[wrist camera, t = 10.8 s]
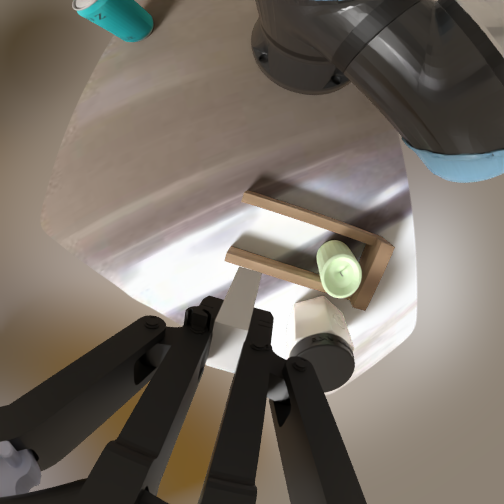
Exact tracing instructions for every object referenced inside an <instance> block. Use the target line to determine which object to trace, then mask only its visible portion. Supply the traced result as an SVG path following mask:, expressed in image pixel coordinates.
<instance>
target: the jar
mask: <svg viewBox="0 0 504 504" xmlns="http://www.w3.org/2000/svg"><path fill="white" fill-rule="evenodd" d="M353 350H354V346H353V343H352V340H351V337H350V333H349V330H348V327H347V324H346V321H345V318H344V315H343V313H342V312H341V311H340V310H339V309H338V308H337V307H336V306H335V305H333V304H332V303H331V302H330V301H329V300H328V299H327V298H326V297H325V296H320V297H316V298H313V299H309V300H305V301H302V302H298V303H295V304H294V306H293V309H292V313H291V316H290V319H289V323H288V326H287V353H286V360H287V359H288V358H290V357H292V356H298V357H303V358H305V359H307V360H308V361H309V362H311V363H312V365H313V367H314V369H315V372H316V374H317V377H318V379H319V382H320V384H321V387H322V389H323V392H329V391H332V390H335V389H337V388H339V387H340V386H342V385H343V384H345V383H346V382H347V381H348V380H349V378H350V377H351V376H352V374H353V371H354V367H355V362H354V356H353Z"/></svg>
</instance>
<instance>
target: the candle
mask: <svg viewBox="0 0 504 504" xmlns="http://www.w3.org/2000/svg"><path fill="white" fill-rule="evenodd" d="M317 264H318V269H319V273H320V278H321V282H322V286H323V288H324V290H325V291H326V292H327V293H328V294H329V295H330V296H332V297H334V298H346V297H348V296H350V295H352V294H353V293H354V292H355V291H356V290H357V289H358V287H359V285H360V283H361V278H362V270H361V267H360V264H359V263H358V261H357V260H356V258H355V256H354V255H353V253H352V252H351V250H350V249H349V247H348V246H347V245H346V244H345V243H343V242H341V241H338V240H331V241H328V242H326V243H324V244H323V245H322V246H321V247H320V248H319V250H318V252H317Z"/></svg>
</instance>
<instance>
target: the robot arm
mask: <svg viewBox="0 0 504 504" xmlns="http://www.w3.org/2000/svg"><path fill="white" fill-rule="evenodd" d="M255 1H256V5H257V9H258V13H259V18H258V20H257V22H256V24H255V26H254V28H253V31H252V37H251V46H252V51H253V54H254V57H255V60H256V62H257V64H258V66H259V68H260V69H261V71H262V72H263V73H264V74H265V75H266V76H267V77H268V78H269V79H270V80H271V81H273V82H274V83H276V84H277V85H279V86H281V87H283V88H285V89H287V90H290V91H293V92H296V93H300V94H307V95H321V94H328V93H332V92H335V91H337V90H339V89H341V88H343V87H345V86H346V85H348V84H349V83H350V82H352V83H353V84H354V85H355V86H356V87H357V88H358V89H359V90H360V91H361V92H362V93H363V94H364V95H365V96H366V97H367V98H368V99H369V100H370V101H371V102H372V103H373V104H374V105H375V106H376V107H377V108H378V109H379V111H380V112H381V113H382V114H383V115H384V116H385V117H386V118H387V119H388V121H389V122H390V123H391V124H392V125H393V126H394V128H395V129H396V130H397V131H398V132H399V134H400V135H401V136H402V140H403V141H404V143H405V144H406V145H407V146H408V147H409V148H410V149H412V150H413V151H414V152H415V153H416V154H417V155H418V156H419V158H420V159H421V160H422V161H423V163H424V164H425V165H426V167H427V168H428V169H429V170H430V171H431V172H432V173H434V174H435V175H438V176H440V177H441V178H443V179H445V180H448V181H453V182H463V183H464V182H465V183H466V182H477V181H482V180H486V179H490V178H493V177H496V176H498V175H500V174H503V173H504V0H438V1H434V0H255ZM261 275H262V273H260V272H257V271H253V270H249V269H246V268H242V267H239V268H238V271H237V273H236V275H235V277H234V280H233V282H232V284H231V286H230V288H229V291H228V293H227V295H226V297H225V299H224V300H222V299H219V298H216V297H212V296H208V297H206V298H204V299H203V300H202V302H201V303H200V305H199V306H193V307H189V308H188V309H187V310H186V312H185V319H184V325H183V327H178V328H177V327H166V323H165V322H164V321H163V320H162V319H161V318H159V317H156V316H144V317H142V318H140V319H138V320H137V321H135V322H134V323H132V324H131V325H129V326H128V327H126V328H124V329H123V330H122V331H120V332H118V333H117V334H115V335H114V336H112V337H111V338H109V339H108V340H106V341H105V342H103V343H102V344H100V345H98V346H97V347H95V348H94V349H92V350H91V351H89V352H88V353H86V354H85V355H83V356H82V357H80V358H79V359H78V360H76V361H74V362H73V363H71V364H70V365H68V366H67V367H65V368H64V369H62V370H61V371H59V372H58V373H56V374H55V375H53V376H52V377H50V378H49V379H47V380H46V381H44V382H43V383H41V384H40V385H38V386H37V387H35V388H34V389H32V390H31V391H29V392H28V393H26V394H25V395H23V396H22V397H20V398H19V399H17V400H16V401H14V402H13V403H11V404H10V405H7V406H2V407H0V504H168V503H166V502H164V501H163V500H161V499H160V498H158V497H156V495H157V492H158V488H159V484H160V481H161V478H162V476H163V473H164V471H165V468H166V465H167V463H168V460H169V458H170V455H171V453H172V450H173V448H174V445H175V443H176V440H177V437H178V435H179V432H180V430H181V427H182V425H183V422H184V420H185V417H186V415H187V412H188V410H189V407H190V405H191V402H192V399H193V397H194V394H195V392H196V389H197V387H198V384H199V382H200V379H201V377H202V374H203V371H204V366H205V363H206V365H208V366H211V367H214V368H218V369H221V370H225V371H228V372H232V373H235V374H234V377H233V381H232V384H231V387H230V392H229V395H228V399H227V403H226V407H225V410H224V413H223V417H222V421H221V424H220V428H219V432H218V435H217V439H216V442H215V446H214V450H213V453H212V457H211V460H210V464H209V467H208V470H207V474H206V477H205V481H204V484H203V488H202V491H201V495H200V498H199V501H198V504H255V503H256V497H257V487H256V486H255V477H256V470H257V464H258V457H259V450H260V443H261V435H262V429H263V422H264V414H265V406H266V398H267V397H268V398H269V403H270V408H271V413H272V418H273V423H274V427H275V432H276V436H277V442H278V447H279V451H280V456H281V460H282V465H283V470H284V474H285V479H286V484H287V489H288V493H289V497H290V502H291V504H367V503H366V501H365V498H364V495H363V492H362V490H361V487H360V484H359V482H358V479H357V476H356V474H355V471H354V469H353V466H352V463H351V461H350V458H349V456H348V453H347V450H346V448H345V445H344V443H343V440H342V437H341V435H340V432H339V430H338V427H337V425H336V422H335V419H334V417H333V414H332V412H331V409H330V407H329V404H328V402H327V399H326V397H325V394H324V392H323V389H322V387H321V384H320V382H319V379H318V377H317V374H316V372H315V369H314V367H313V365H312V363H311V362H309V361H308V360H307V359H305V358H303V357H298V356H292V357H290V358H288V359H287V360H285V359H283V358H281V357H279V356H278V355H276V354H275V353H274V352H273V350H272V346H271V337H272V328H273V319H274V318H273V316H272V314H271V312H268V311H264V310H261V309H257V308H254V304H255V300H256V296H257V292H258V287H259V283H260V279H261ZM150 380H151V381H150ZM149 381H150V382H149ZM148 382H149V384H148V386H147V388H146V389H145V391H144V393H143V394H142V396H141V398H140V400H139V402H138V403H137V405H136V406H135V408H134V410H133V412H132V413H131V415H130V417H129V419H128V420H127V422H126V424H125V426H124V427H123V429H122V431H121V433H120V434H119V437H118V438H117V439H116V440H115V441H110V442H109V443H108V444H107V445H106V447H105V448H104V450H103V451H102V453H101V455H100V457H99V458H98V460H97V462H96V464H95V465H94V467H93V469H92V471H91V473H90V474H89V476H88V478H86V479H81V480H77V481H74V482H71V483H67V484H63V485H60V486H56V487H52V488H48V489H44V490H39V491H35V492H30V493H28V492H29V490H30V489H31V488H32V487H34V486H37V485H39V484H40V479H41V471H43V470H45V469H47V468H49V467H51V466H53V465H55V464H56V463H57V462H59V461H60V460H61V459H63V458H64V457H65V456H66V455H67V454H69V453H70V452H71V451H72V450H73V449H74V448H76V447H77V446H78V445H79V444H80V443H81V442H82V441H84V440H85V439H86V438H87V437H88V436H89V435H90V434H92V432H94V431H95V430H96V429H97V428H98V427H99V426H100V425H102V424H103V423H104V422H105V421H106V420H107V419H108V418H109V417H111V416H112V415H113V414H114V413H115V412H116V411H117V410H118V409H119V408H121V407H122V406H123V405H124V404H125V403H126V402H127V401H128V400H129V399H130V398H131V397H132V396H134V395H135V394H136V393H137V392H138V391H139V390H140V389H141V388H143V387H144V386H145V385H146V384H147V383H148Z"/></svg>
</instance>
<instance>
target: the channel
mask: <svg viewBox="0 0 504 504" xmlns="http://www.w3.org/2000/svg"><path fill="white" fill-rule="evenodd" d="M242 202H244V203H248V204H251V205H254V206H257V207H260V208H264V209H267V210H270V211H273V212H276V213H279V214H282V215H285V216H288V217H291V218H294V219H297V220H300V221H303V222H306V223H309V224H312V225H315V226H318V227H321V228H324V229H327V230H330V231H332V232H335V233H338V234H341V235H344V236H347V237H349V238H352V239H355V240H358V241H360V242H363V243H366V245H365V248H364V250H363V253H362V255H361V257H360V260H359V262H358V263H359V264H360V267H361V270H362V278H361V283H360V285H359V287H358V289H357V290H356V291H355V292H354V293H353V294H352V295H350V296H348V297H346V298H344V299H347V300H350V302H351V304H352V307H354V308H357V309H361V310H364V311H365V310H366V308H367V307H368V305H369V303H370V301H371V299H372V296H373V294H374V292H375V290H376V288H377V286H378V284H379V282H380V280H381V278H382V275H383V273H384V271H385V269H386V267H387V264H388V262H389V260H390V257H391V255H392V253H393V250H394V248H395V247H394V246H393V245H391V244H390V243H389V242H388V241H387V240H385V239H384V238H383V237H381V236H379V235H376V234H373V233H371V232H368V231H366V230H363V229H360V228H358V227H355V226H352V225H350V224H347V223H344V222H341V221H339V220H336V219H333V218H330V217H327V216H325V215H322V214H319V213H316V212H313V211H310V210H307V209H304V208H301V207H298V206H295V205H292V204H289V203H286V202H283V201H280V200H277V199H274V198H271V197H268V196H264V195H261V194H258V193H255V192H252V191H248V190H247V191H246V192H244V195H243V198H242ZM225 261H226V262H229V263H232V264H236V265H239V266H242V267H245V268H248V269H251V270H254V271H257V272H260V273H264V274H267V275H270V276H273V277H276V278H279V279H283V280H286V281H289V282H292V283H295V284H298V285H302V286H305V287H308V288H311V289H315V290H318V291H321V292H324V293H327V292H326V291H325V290H324V288H323V286H322V282H321V278H320V274H316V273H313V272H310V271H307V270H304V269H301V268H298V267H295V266H291V265H288V264H285V263H282V262H279V261H276V260H273V259H270V258H266V257H263V256H260V255H257V254H254V253H251V252H248V251H245V250H241V249H238V248H235V247H232V246H231V247H230V248H229V250H228V252H227V254H226V257H225Z"/></svg>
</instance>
